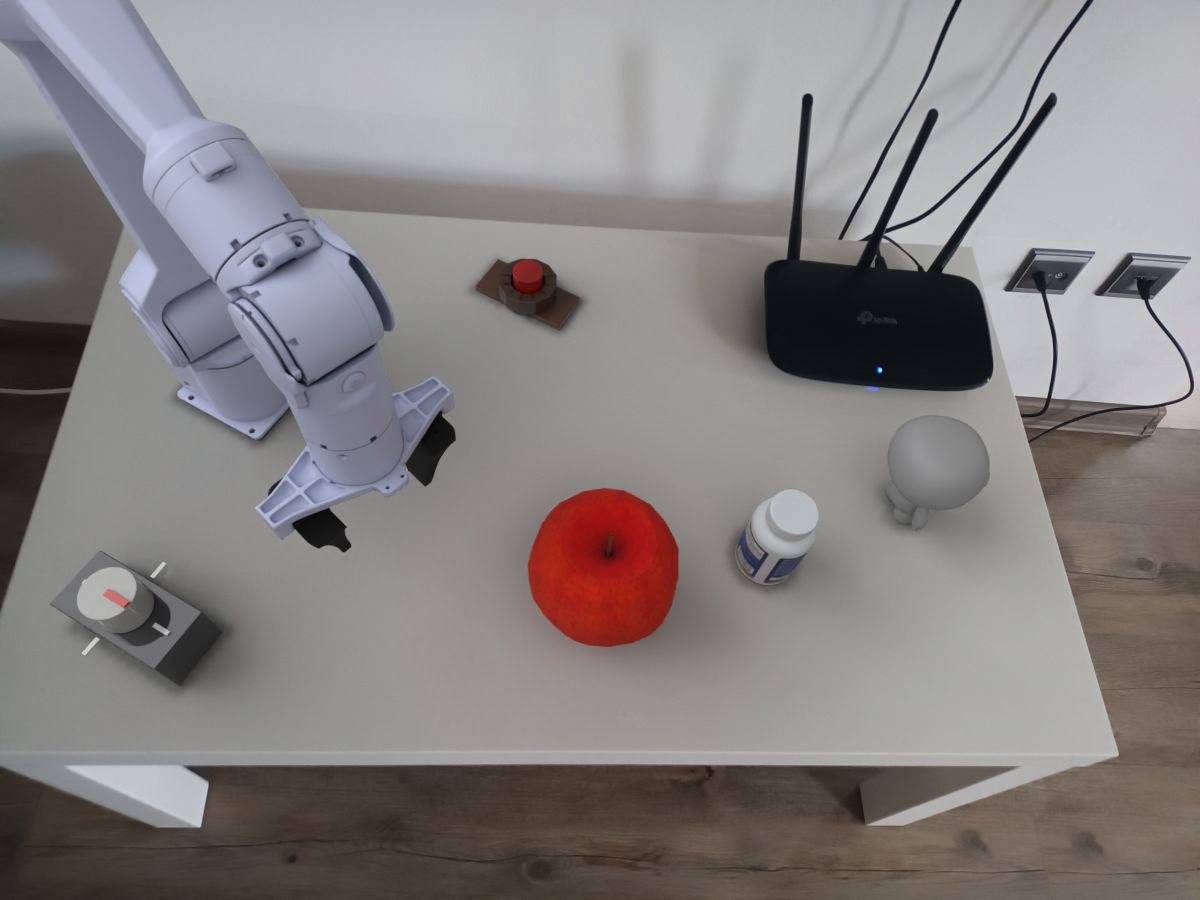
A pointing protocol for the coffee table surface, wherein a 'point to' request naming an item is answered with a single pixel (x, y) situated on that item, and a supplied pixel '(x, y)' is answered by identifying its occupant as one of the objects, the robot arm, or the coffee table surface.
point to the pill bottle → (777, 537)
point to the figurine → (934, 467)
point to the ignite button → (527, 276)
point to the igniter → (541, 305)
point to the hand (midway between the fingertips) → (380, 507)
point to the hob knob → (115, 600)
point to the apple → (604, 568)
